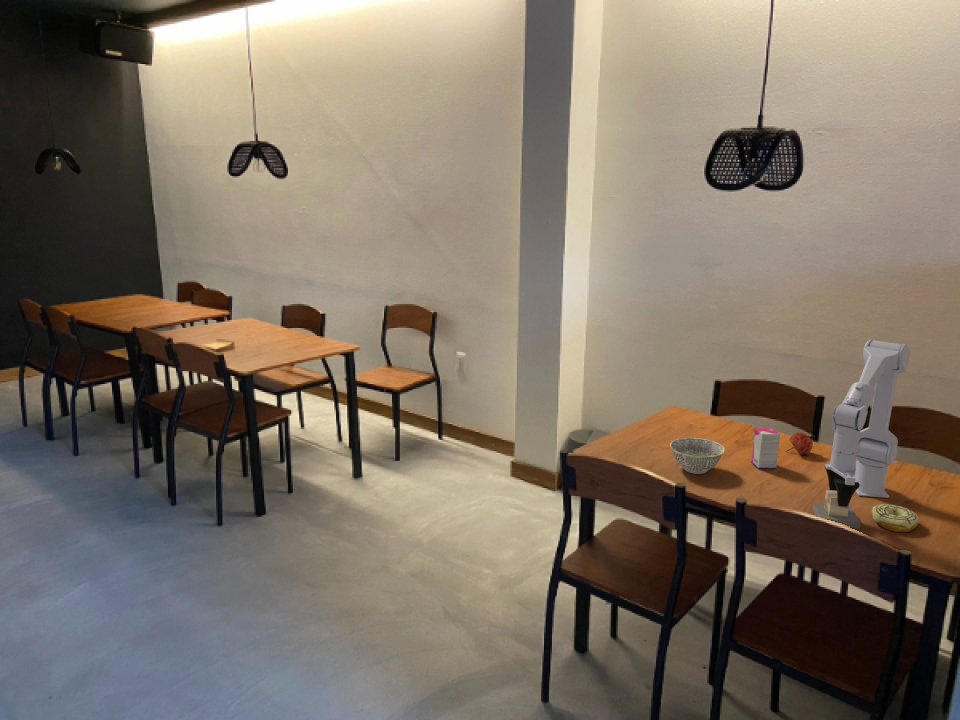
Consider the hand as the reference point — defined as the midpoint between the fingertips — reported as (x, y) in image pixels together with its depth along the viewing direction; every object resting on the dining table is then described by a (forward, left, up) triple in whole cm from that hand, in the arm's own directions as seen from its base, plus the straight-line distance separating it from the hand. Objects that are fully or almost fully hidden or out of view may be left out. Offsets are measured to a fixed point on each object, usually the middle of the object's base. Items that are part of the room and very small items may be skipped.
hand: (838, 499), depth 184 cm
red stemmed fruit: (-47, +1, -6) cm, 47 cm away
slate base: (0, 0, -6) cm, 6 cm away
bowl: (-27, -33, -6) cm, 43 cm away
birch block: (0, 0, -4) cm, 4 cm away
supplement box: (-34, -12, -6) cm, 36 cm away
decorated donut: (0, +14, -6) cm, 15 cm away
